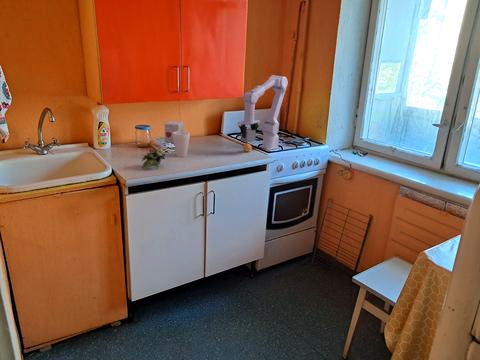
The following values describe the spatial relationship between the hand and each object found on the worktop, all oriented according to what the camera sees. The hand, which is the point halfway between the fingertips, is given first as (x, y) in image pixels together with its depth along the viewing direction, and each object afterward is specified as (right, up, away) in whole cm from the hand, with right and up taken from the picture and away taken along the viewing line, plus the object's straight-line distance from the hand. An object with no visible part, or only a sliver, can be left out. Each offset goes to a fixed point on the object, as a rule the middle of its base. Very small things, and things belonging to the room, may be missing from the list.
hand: (248, 136), depth 222 cm
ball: (0, -6, +6) cm, 8 cm away
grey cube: (0, -2, +1) cm, 2 cm away
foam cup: (-38, -11, -6) cm, 40 cm away
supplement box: (-45, -5, +10) cm, 46 cm away
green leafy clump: (-48, -19, -28) cm, 59 cm away
